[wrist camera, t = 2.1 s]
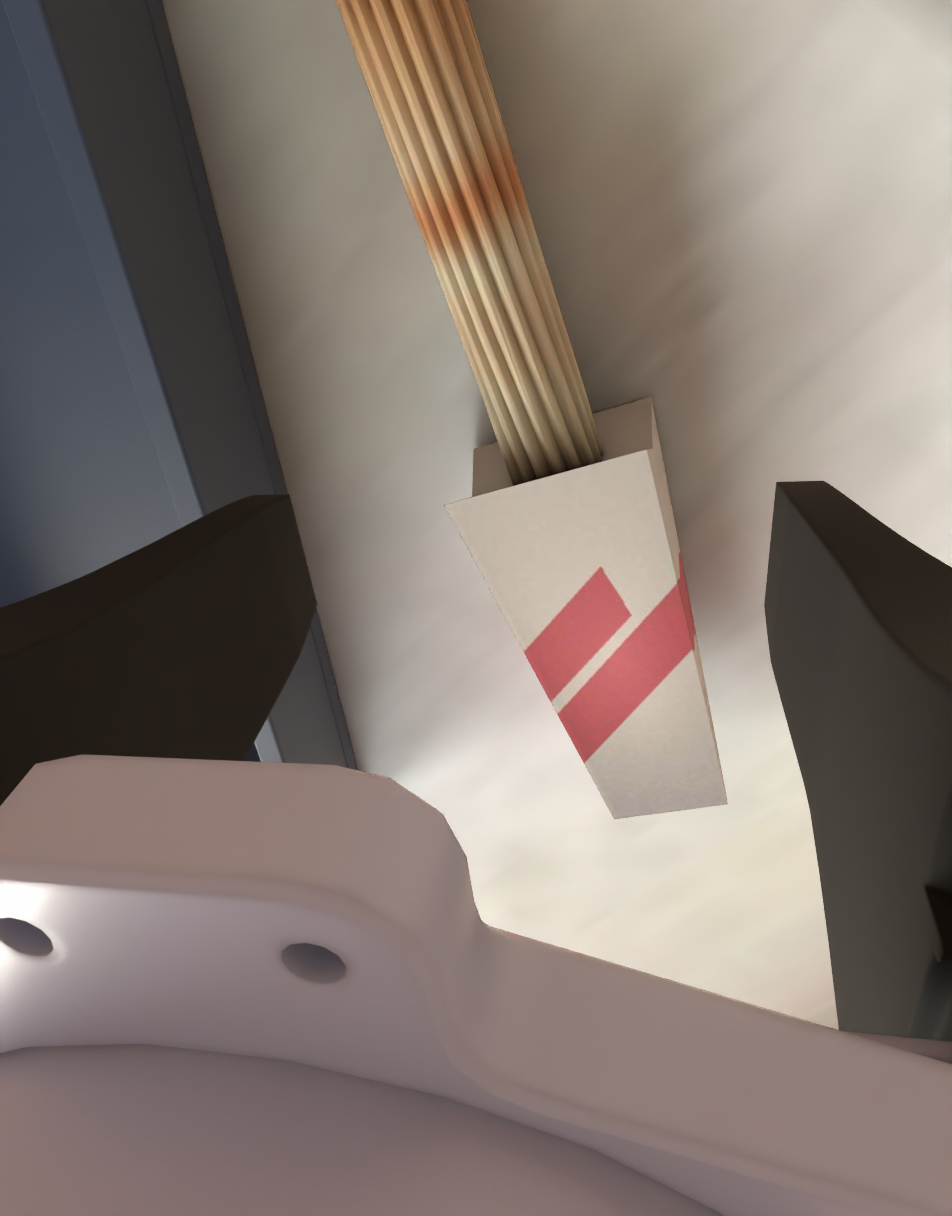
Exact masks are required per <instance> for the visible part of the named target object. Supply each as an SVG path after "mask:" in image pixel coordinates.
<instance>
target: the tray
mask: <svg viewBox="0 0 952 1216" xmlns="http://www.w3.org/2000/svg"><path fill="white" fill-rule="evenodd" d="M276 494H287V491H286V487H285V484H284V480H283V476H282V472H281V468H280V464H279V460H278V456H277V452H276V448H275V444H274V440H273V436H272V433H271V429H270V425H269V421H268V417H267V413H266V409H265V405H264V401H263V397H262V393H261V389H260V386H259V382H258V378H257V374H256V370H255V366H254V362H253V358H252V354H251V350H250V346H249V342H248V339H247V335H246V331H245V327H244V323H243V319H242V315H241V311H240V307H239V303H238V299H237V295H236V292H235V288H234V284H233V280H232V276H231V272H230V268H229V264H228V260H227V256H226V252H225V248H224V245H223V241H222V237H221V233H220V229H219V225H218V221H217V217H216V213H215V209H214V205H213V201H212V198H211V194H210V190H209V186H208V182H207V178H206V174H205V170H204V166H203V162H202V158H201V154H200V151H199V147H198V143H197V139H196V135H195V131H194V127H193V123H192V119H191V115H190V111H189V107H188V103H187V100H186V96H185V92H184V88H183V84H182V80H181V76H180V72H179V68H178V64H177V60H176V56H175V53H174V49H173V45H172V41H171V37H170V33H169V29H168V25H167V21H166V17H165V13H164V9H163V6H162V2H161V0H0V607H3V606H6V605H9V604H13V603H15V602H18V601H21V600H24V599H27V598H29V597H32V596H35V595H37V594H40V593H42V592H45V591H48V590H50V589H53V588H55V587H58V586H61V585H63V584H65V583H68V582H70V581H73V580H75V579H77V578H80V577H82V576H84V575H86V574H89V573H91V572H93V571H95V570H97V569H99V568H101V567H104V566H106V565H108V564H110V563H112V562H114V561H116V560H118V559H120V558H122V557H124V556H126V555H128V554H131V553H133V552H135V551H137V550H139V549H141V548H143V547H145V546H147V545H149V544H151V543H153V542H155V541H157V540H159V539H161V538H163V537H164V536H166V535H168V534H170V533H172V532H174V531H176V530H178V529H180V528H182V527H184V526H186V525H187V524H189V523H191V522H193V521H195V520H197V519H199V518H201V517H203V516H205V515H207V514H209V513H211V512H213V511H215V510H217V509H219V508H221V507H223V506H225V505H228V504H230V503H232V502H235V501H237V500H240V499H242V498H245V497H248V496H252V495H276ZM244 761H251V762H275V763H299V764H323V765H337V766H341V767H345V768H349V769H354V770H358V769H357V766H356V762H355V758H354V754H353V750H352V746H351V742H350V738H349V734H348V730H347V726H346V722H345V719H344V715H343V711H342V707H341V703H340V699H339V695H338V691H337V687H336V683H335V679H334V675H333V672H332V668H331V664H330V660H329V656H328V652H327V648H326V644H325V640H324V636H323V632H322V628H321V625H320V621H319V617H318V613H317V609H315V612H314V616H313V619H312V622H311V625H310V628H309V632H308V635H307V637H306V640H305V643H304V646H303V648H302V651H301V654H300V656H299V658H298V660H297V662H296V664H295V666H294V668H293V670H292V672H291V674H290V676H289V678H288V680H287V682H286V684H285V686H284V687H283V689H282V691H281V693H280V695H279V697H278V699H277V701H276V703H275V704H274V706H273V708H272V710H271V712H270V714H269V716H268V717H267V719H266V721H265V723H264V725H263V727H262V729H261V731H260V732H259V734H258V736H257V738H256V740H255V742H254V744H253V746H252V747H251V749H250V751H249V753H248V755H247V757H246V759H245V760H244Z"/></svg>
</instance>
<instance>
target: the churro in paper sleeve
mask: <svg viewBox="0 0 952 1216" xmlns="http://www.w3.org/2000/svg"><path fill="white" fill-rule="evenodd" d="M336 2H337V5H338V8H339V10H340V13H341V16H342V18H343V21H344V24H345V27H346V29H347V32H348V35H349V38H350V40H351V43H352V46H353V48H354V51H355V54H356V57H357V59H358V62H359V65H360V68H361V70H362V73H363V76H364V78H365V81H366V84H367V87H368V89H369V92H370V95H371V98H372V100H373V103H374V106H375V108H376V111H377V114H378V117H379V119H380V122H381V125H382V127H383V130H384V133H385V136H386V138H387V141H388V144H389V147H390V149H391V152H392V155H393V157H394V160H395V163H396V165H397V168H398V171H399V174H400V176H401V179H402V182H403V184H404V187H405V190H406V192H407V195H408V198H409V200H410V203H411V206H412V209H413V211H414V214H415V217H416V219H417V222H418V225H419V227H420V230H421V233H422V236H423V238H424V241H425V244H426V246H427V249H428V252H429V254H430V257H431V260H432V262H433V265H434V268H435V271H436V273H437V276H438V279H439V281H440V284H441V287H442V289H443V292H444V295H445V298H446V300H447V303H448V306H449V308H450V311H451V314H452V316H453V319H454V322H455V324H456V327H457V330H458V333H459V335H460V338H461V341H462V343H463V346H464V349H465V351H466V354H467V357H468V359H469V362H470V365H471V368H472V370H473V373H474V376H475V378H476V381H477V384H478V386H479V389H480V392H481V395H482V398H483V401H484V404H485V406H486V409H487V412H488V415H489V418H490V421H491V424H492V427H493V429H494V432H495V435H496V438H497V441H498V442H495V443H492V444H489V445H485V446H482V447H478V448H475V449H474V455H473V488H472V497H471V498H467V499H464V500H460V501H457V502H453V503H449V504H446V505H444V506H445V508H446V509H447V511H448V513H449V515H450V517H451V519H452V521H453V522H454V524H455V526H456V528H457V530H458V532H459V533H460V535H461V537H462V539H463V541H464V543H465V545H466V546H467V548H468V550H469V552H470V554H471V556H472V557H473V559H474V561H475V563H476V565H477V567H478V569H479V570H480V572H481V574H482V576H483V578H484V580H485V581H486V583H487V585H488V587H489V589H490V591H491V593H492V594H493V596H494V598H495V600H496V602H497V604H498V605H499V607H500V609H501V611H502V613H503V615H504V616H505V618H506V620H507V622H508V624H509V626H510V628H511V629H512V631H513V633H514V635H515V637H516V639H517V640H518V642H519V644H520V646H521V648H522V650H523V652H524V653H525V655H526V657H527V659H528V661H529V663H530V664H531V666H532V668H533V670H534V672H535V674H536V676H537V677H538V679H539V681H540V683H541V685H542V687H543V688H544V690H545V692H546V694H547V696H548V698H549V700H550V701H551V703H552V705H553V707H554V709H555V711H556V712H557V714H558V716H559V718H560V720H561V722H562V724H563V725H564V727H565V729H566V731H567V733H568V735H569V736H570V738H571V740H572V742H573V744H574V746H575V747H576V749H577V751H578V753H579V755H580V757H581V759H582V760H583V762H584V764H585V766H586V768H587V770H588V771H589V773H590V775H591V777H592V779H593V781H594V783H595V784H596V786H597V788H598V790H599V792H600V794H601V795H602V797H603V799H604V801H605V803H606V805H607V807H608V808H609V810H610V812H611V814H612V816H613V818H614V819H619V818H627V817H634V816H642V815H649V814H657V813H664V812H672V811H680V810H687V809H695V808H702V807H710V806H718V805H725V804H728V802H727V797H726V792H725V786H724V781H723V776H722V770H721V765H720V760H719V754H718V749H717V744H716V738H715V733H714V728H713V723H712V717H711V712H710V707H709V701H708V696H707V691H706V685H705V680H704V675H703V669H702V664H701V659H700V653H699V648H698V643H697V637H696V632H695V627H694V621H693V616H692V611H691V606H690V600H689V595H688V590H687V584H686V579H685V574H684V568H683V563H682V558H681V552H680V547H679V542H678V536H677V531H676V526H675V520H674V515H673V510H672V504H671V499H670V494H669V489H668V483H667V478H666V473H665V467H664V462H663V457H662V451H661V446H660V441H659V435H658V430H657V425H656V419H655V414H654V409H653V403H652V398H651V397H647V398H644V399H641V400H637V401H634V402H630V403H627V404H624V405H620V406H617V407H614V408H610V409H607V410H603V411H600V412H597V413H593V414H592V412H591V408H590V404H589V401H588V397H587V394H586V391H585V388H584V384H583V381H582V378H581V375H580V372H579V369H578V365H577V362H576V359H575V356H574V353H573V349H572V346H571V343H570V340H569V337H568V333H567V330H566V327H565V324H564V321H563V317H562V314H561V311H560V308H559V305H558V302H557V298H556V295H555V292H554V289H553V286H552V282H551V279H550V276H549V273H548V270H547V266H546V263H545V260H544V257H543V254H542V250H541V247H540V244H539V241H538V238H537V234H536V231H535V228H534V224H533V221H532V218H531V214H530V211H529V208H528V204H527V201H526V198H525V194H524V191H523V188H522V184H521V181H520V178H519V174H518V171H517V168H516V164H515V161H514V158H513V154H512V151H511V148H510V144H509V141H508V138H507V134H506V131H505V128H504V124H503V121H502V118H501V115H500V111H499V108H498V105H497V101H496V98H495V95H494V91H493V88H492V85H491V81H490V78H489V75H488V71H487V68H486V65H485V61H484V58H483V55H482V51H481V48H480V45H479V41H478V38H477V35H476V31H475V28H474V25H473V21H472V18H471V15H470V11H469V8H468V5H467V2H466V0H336Z"/></svg>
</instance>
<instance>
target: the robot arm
mask: <svg viewBox="0 0 952 1216" xmlns="http://www.w3.org/2000/svg"><path fill="white" fill-rule="evenodd" d="M316 606H317V602H316V598H315V594H314V590H313V586H312V583H311V579H310V575H309V571H308V567H307V563H306V559H305V555H304V551H303V547H302V543H301V539H300V535H299V531H298V527H297V524H296V520H295V516H294V512H293V508H292V504H291V500H290V496H289V494H276V495H252V496H248V497H245V498H242V499H240V500H237V501H235V502H232V503H230V504H228V505H225V506H223V507H221V508H219V509H217V510H215V511H213V512H211V513H209V514H207V515H205V516H203V517H201V518H199V519H197V520H195V521H193V522H191V523H189V524H187V525H186V526H184V527H182V528H180V529H178V530H176V531H174V532H172V533H170V534H168V535H166V536H164V537H163V538H161V539H159V540H157V541H155V542H153V543H151V544H149V545H147V546H145V547H143V548H141V549H139V550H137V551H135V552H133V553H131V554H128V555H126V556H124V557H122V558H120V559H118V560H116V561H114V562H112V563H110V564H108V565H106V566H104V567H101V568H99V569H97V570H95V571H93V572H91V573H89V574H86V575H84V576H82V577H80V578H77V579H75V580H73V581H70V582H68V583H65V584H63V585H61V586H58V587H55V588H53V589H50V590H48V591H45V592H42V593H40V594H37V595H35V596H32V597H29V598H27V599H24V600H21V601H18V602H15V603H13V604H9V605H6V606H3V607H0V1216H952V568H951V567H950V566H948V565H946V564H945V563H943V562H941V561H940V560H938V559H936V558H935V557H933V556H931V555H930V554H928V553H926V552H925V551H923V550H922V549H920V548H919V547H917V546H915V545H914V544H912V543H911V542H909V541H908V540H906V539H905V538H903V537H902V536H900V535H899V534H897V533H896V532H895V531H893V530H892V529H890V528H889V527H887V526H886V525H885V524H883V523H882V522H880V521H879V520H878V519H876V518H875V517H873V516H872V515H871V514H869V513H868V512H867V511H865V510H864V509H863V508H861V507H860V506H859V505H857V504H856V503H855V502H853V501H852V500H851V499H849V498H848V497H846V496H845V495H844V494H842V493H841V492H840V491H838V490H837V489H835V488H834V487H833V486H831V485H830V484H828V483H826V482H824V481H797V482H776V491H775V501H774V511H773V522H772V532H771V542H770V553H769V563H768V573H767V584H766V594H765V604H764V606H765V615H766V625H767V634H768V642H769V650H770V658H771V664H772V667H773V671H774V675H775V679H776V683H777V686H778V690H779V694H780V698H781V701H782V705H783V709H784V712H785V716H786V720H787V723H788V727H789V730H790V734H791V738H792V741H793V745H794V749H795V752H796V756H797V759H798V763H799V767H800V770H801V774H802V778H803V781H804V785H805V790H806V794H807V799H808V803H809V808H810V813H811V819H812V826H813V833H814V839H815V846H816V853H817V860H818V866H819V873H820V881H821V888H822V896H823V903H824V911H825V918H826V926H827V933H828V941H829V949H830V957H831V966H832V974H833V983H834V991H835V1000H836V1009H837V1017H838V1026H839V1030H836V1029H833V1028H829V1027H826V1026H823V1025H819V1024H816V1023H812V1022H809V1021H806V1020H802V1019H799V1018H796V1017H792V1016H789V1015H786V1014H782V1013H779V1012H776V1011H772V1010H769V1009H765V1008H762V1007H759V1006H755V1005H752V1004H749V1003H745V1002H742V1001H739V1000H735V999H732V998H729V997H725V996H722V995H719V994H715V993H712V992H708V991H705V990H702V989H698V988H695V987H692V986H688V985H685V984H682V983H678V982H675V981H672V980H668V979H665V978H661V977H658V976H655V975H651V974H648V973H645V972H641V971H638V970H635V969H631V968H628V967H625V966H621V965H618V964H615V963H611V962H608V961H604V960H601V959H598V958H594V957H591V956H588V955H584V954H581V953H578V952H574V951H571V950H568V949H564V948H561V947H557V946H554V945H551V944H547V943H544V942H541V941H537V940H534V939H531V938H527V937H524V936H521V935H517V934H514V933H510V932H507V931H504V930H500V929H497V928H494V927H490V926H488V925H487V924H485V923H484V922H482V920H481V919H480V916H479V913H478V910H477V908H476V905H475V902H474V898H473V892H472V886H471V881H470V875H469V869H468V863H467V857H466V855H465V853H464V852H463V850H462V848H461V846H460V844H459V842H458V841H457V839H456V837H455V835H454V833H453V832H452V830H451V828H450V826H449V824H448V823H447V821H446V819H445V817H444V815H443V814H442V813H441V812H439V811H438V810H437V809H435V808H434V807H432V806H431V805H430V804H428V803H427V802H425V801H424V800H422V799H421V798H419V797H418V796H416V795H415V794H413V793H412V792H410V791H409V790H407V789H406V788H404V787H403V786H401V785H400V784H398V783H397V782H396V781H394V780H393V779H391V778H388V777H384V776H379V775H375V774H371V773H366V772H362V771H358V770H354V769H349V768H345V767H341V766H337V765H323V764H299V763H275V762H251V761H244V760H245V759H246V757H247V755H248V753H249V751H250V749H251V747H252V746H253V744H254V742H255V740H256V738H257V736H258V734H259V732H260V731H261V729H262V727H263V725H264V723H265V721H266V719H267V717H268V716H269V714H270V712H271V710H272V708H273V706H274V704H275V703H276V701H277V699H278V697H279V695H280V693H281V691H282V689H283V687H284V686H285V684H286V682H287V680H288V678H289V676H290V674H291V672H292V670H293V668H294V666H295V664H296V662H297V660H298V658H299V656H300V654H301V651H302V648H303V646H304V643H305V640H306V637H307V635H308V632H309V628H310V625H311V622H312V619H313V616H314V612H315V609H316Z"/></svg>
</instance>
